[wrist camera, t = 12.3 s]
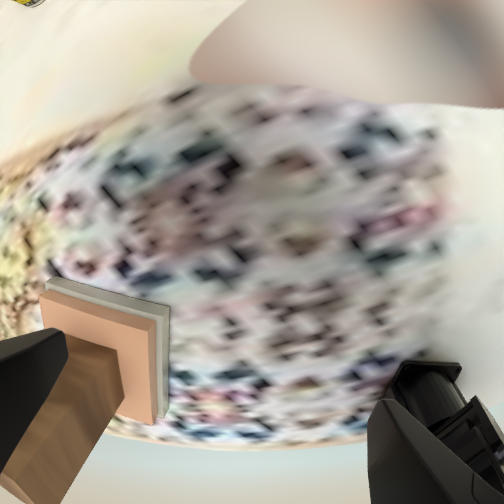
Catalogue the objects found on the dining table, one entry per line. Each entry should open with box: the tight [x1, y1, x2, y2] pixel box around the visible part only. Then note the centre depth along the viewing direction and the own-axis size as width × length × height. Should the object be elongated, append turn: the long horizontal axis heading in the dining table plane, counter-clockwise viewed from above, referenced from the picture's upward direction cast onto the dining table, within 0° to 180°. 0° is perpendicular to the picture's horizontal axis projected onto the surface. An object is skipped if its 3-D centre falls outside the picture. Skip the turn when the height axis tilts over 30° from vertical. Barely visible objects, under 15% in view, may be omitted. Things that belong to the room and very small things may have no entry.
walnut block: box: [0, 333, 125, 504], centre depth 14 cm, size 5×5×13 cm
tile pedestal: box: [39, 276, 170, 425], centre depth 22 cm, size 11×11×3 cm
